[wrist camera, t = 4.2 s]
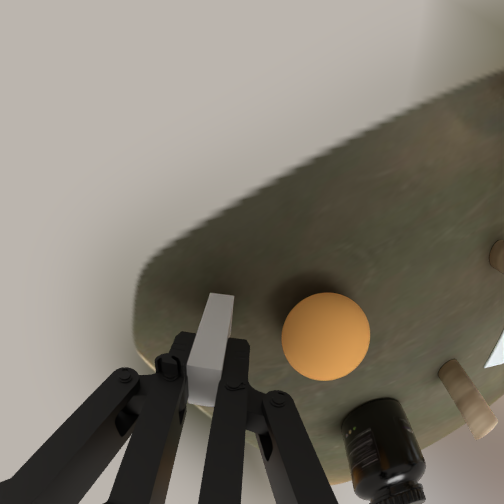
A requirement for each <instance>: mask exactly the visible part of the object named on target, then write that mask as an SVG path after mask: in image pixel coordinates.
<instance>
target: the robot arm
mask: <svg viewBox="0 0 504 504" xmlns="http://www.w3.org/2000/svg"><path fill="white" fill-rule="evenodd" d="M233 305H234V296H232V295H224V294H217V293H210V295H209V298H208V301H207V304H206V307H205V310H204V313H203V316H202V319H201V322H200V325H199V328H198V331H197V334H195V333H189V332H180V333H179V334H178V335H177V336H176V337H175V339H174V342H173V344H172V347H171V349H170V351H169V353H166V354H161V355H160V356H158V357H157V358H156V359H155V367H156V373H155V374H152V375H138V373H137V372H136V371H135V370H134V369H131V368H119V369H117V370H116V371H114V372H113V373H112V374H111V375H110V376H109V377H108V378H107V379H106V380H105V381H104V382H103V383H102V384H101V385H100V386H99V387H98V388H97V389H96V390H95V391H94V392H93V393H92V394H91V395H90V396H89V397H88V398H87V399H86V400H85V402H83V404H82V405H81V406H80V407H79V408H78V409H77V410H76V411H75V412H74V413H73V414H72V415H71V416H70V417H69V418H68V419H67V420H66V421H65V422H64V423H63V424H62V425H61V426H60V427H59V428H58V429H57V430H56V431H55V432H54V434H53V435H52V436H51V437H50V438H49V439H48V440H47V441H46V442H45V443H44V444H43V445H42V446H41V447H40V448H39V449H38V450H37V451H36V452H35V453H34V454H33V456H32V457H31V458H30V459H29V460H28V461H27V462H26V463H25V464H24V465H23V466H22V467H21V468H20V469H19V470H18V471H17V472H16V474H15V475H14V476H13V477H12V478H10V479H8V480H5V481H3V482H0V504H78V503H79V502H80V501H81V499H82V498H83V497H84V495H85V494H86V493H87V492H88V490H89V489H90V488H91V486H92V485H93V484H94V483H95V481H96V480H97V478H98V477H99V476H100V475H101V474H102V472H103V471H104V470H105V468H106V467H107V466H108V464H109V463H110V462H111V460H112V459H113V458H114V457H115V455H116V454H117V453H118V451H119V450H120V449H121V447H122V446H123V445H124V443H125V442H126V441H127V439H128V438H129V437H130V435H131V434H132V435H131V438H130V441H129V443H128V446H127V449H126V451H125V454H124V457H123V459H122V462H121V465H120V468H119V471H118V473H117V476H116V479H115V482H114V485H113V488H112V491H111V494H110V497H109V499H108V501H107V502H106V503H104V504H165V499H166V495H167V491H168V486H169V482H170V478H171V473H172V469H173V465H174V461H175V456H176V452H177V448H178V444H179V439H180V436H181V432H182V428H183V424H184V420H185V415H186V404H187V400H188V403H191V404H196V405H203V406H209V407H214V412H213V417H212V424H211V429H210V435H209V441H208V447H207V453H206V459H205V465H204V471H203V477H202V483H201V489H200V495H199V502H198V504H241V490H242V476H243V461H244V446H245V430H249V431H252V432H254V433H255V434H256V438H257V441H258V445H259V448H260V452H261V455H262V458H263V462H264V465H265V469H266V472H267V475H268V478H269V482H270V485H271V488H272V491H273V494H274V498H275V501H276V504H338V502H337V500H336V497H335V495H334V493H333V491H332V488H331V486H330V484H329V482H328V479H327V477H326V475H325V473H324V470H323V468H322V466H321V464H320V461H319V459H318V457H317V455H316V452H315V450H314V448H313V445H312V443H311V441H310V438H309V436H308V434H307V432H306V429H305V427H304V425H303V422H302V420H301V418H300V415H299V413H298V410H297V408H296V406H295V403H294V401H293V399H292V398H291V396H290V395H289V394H287V393H286V392H283V391H279V390H274V391H270V392H268V393H267V394H265V393H262V392H259V391H257V390H255V389H254V388H252V387H251V386H250V384H249V382H248V369H249V353H250V345H249V344H248V342H247V340H244V339H236V338H230V334H231V325H232V315H233Z"/></svg>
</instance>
